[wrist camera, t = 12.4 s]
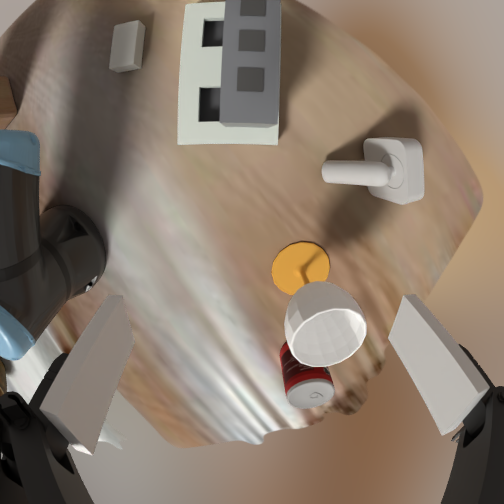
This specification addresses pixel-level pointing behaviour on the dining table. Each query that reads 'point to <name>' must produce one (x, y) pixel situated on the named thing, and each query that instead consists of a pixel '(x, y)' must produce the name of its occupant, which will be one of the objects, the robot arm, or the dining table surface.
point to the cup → (316, 308)
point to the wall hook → (383, 169)
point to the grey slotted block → (250, 64)
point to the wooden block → (6, 103)
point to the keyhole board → (209, 82)
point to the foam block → (127, 46)
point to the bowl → (2, 380)
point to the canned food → (305, 381)
